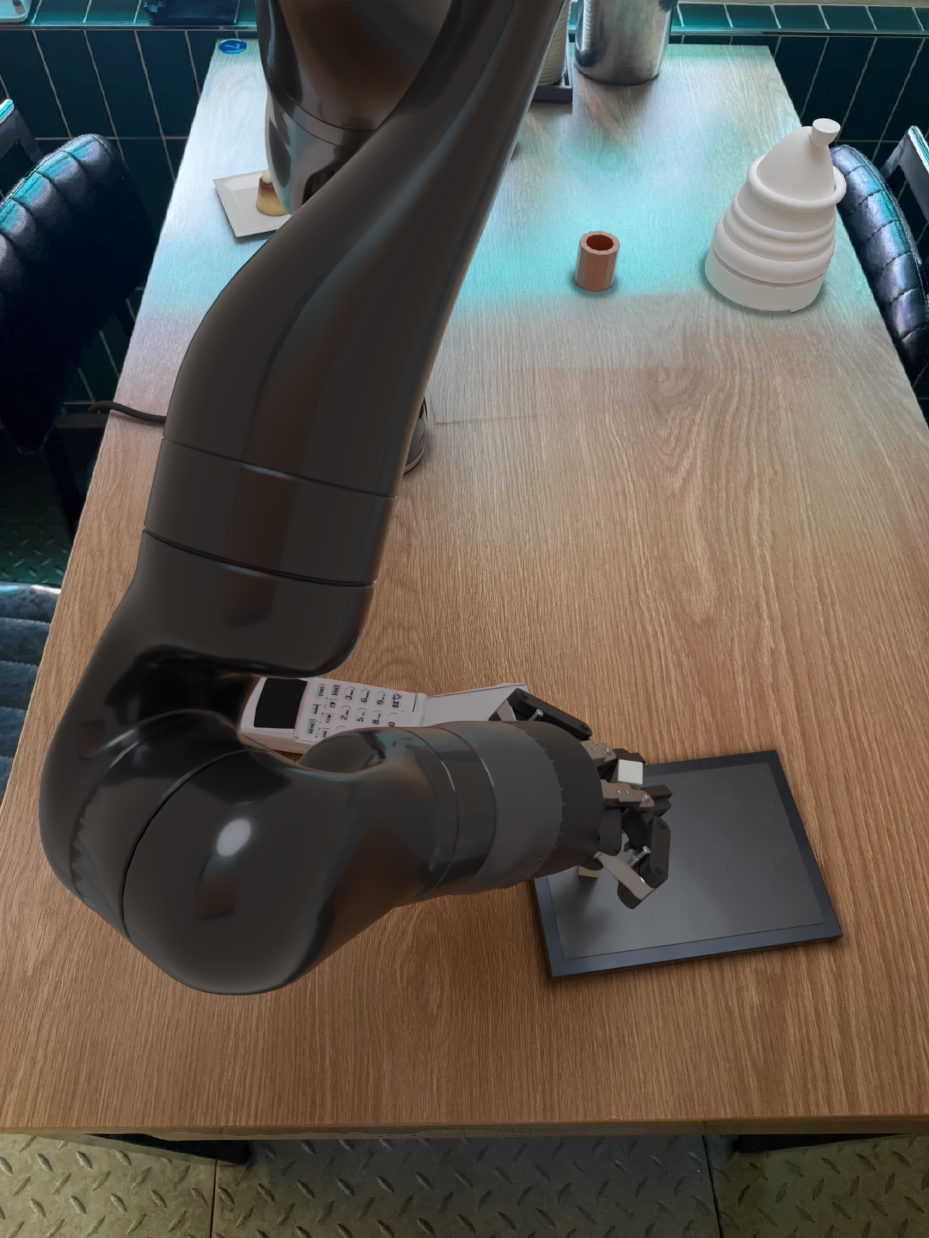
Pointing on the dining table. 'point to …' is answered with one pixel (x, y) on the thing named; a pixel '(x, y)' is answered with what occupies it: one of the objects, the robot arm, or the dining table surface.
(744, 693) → the dining table surface
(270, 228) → the dessert
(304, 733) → the mobile phone
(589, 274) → the pen holder
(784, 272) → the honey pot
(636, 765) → the stylus
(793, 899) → the tablet
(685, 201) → the dining table surface
